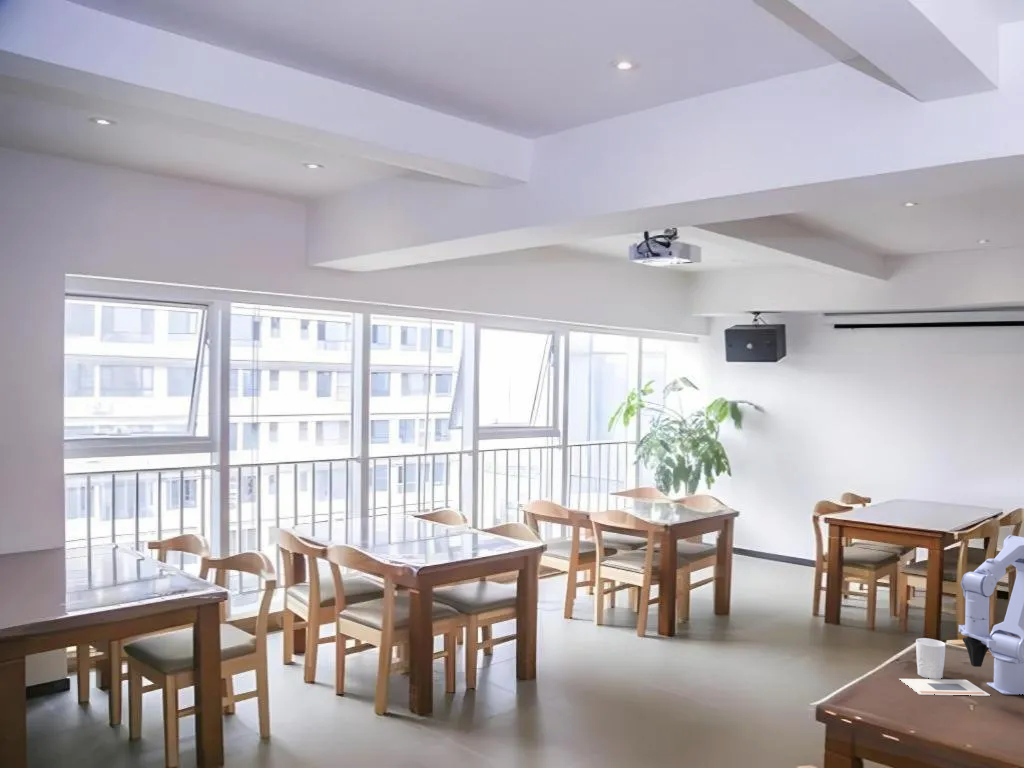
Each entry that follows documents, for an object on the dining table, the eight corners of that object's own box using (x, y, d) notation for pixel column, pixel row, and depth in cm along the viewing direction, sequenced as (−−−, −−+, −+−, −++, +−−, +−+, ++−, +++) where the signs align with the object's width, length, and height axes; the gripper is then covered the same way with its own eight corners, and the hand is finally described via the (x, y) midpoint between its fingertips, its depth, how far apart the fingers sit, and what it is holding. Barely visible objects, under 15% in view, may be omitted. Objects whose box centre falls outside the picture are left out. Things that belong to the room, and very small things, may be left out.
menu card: (966, 680, 237) (966, 679, 237) (990, 696, 225) (990, 695, 225) (898, 679, 237) (898, 678, 237) (919, 694, 225) (919, 694, 225)
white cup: (950, 680, 237) (950, 646, 237) (923, 680, 237) (923, 646, 237) (936, 671, 245) (937, 638, 245) (910, 670, 245) (911, 637, 245)
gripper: (948, 609, 230) (947, 656, 230) (978, 624, 215) (977, 674, 215) (973, 609, 230) (972, 657, 230) (1004, 624, 215) (1003, 675, 215)
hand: (976, 665), depth 222 cm, fingers closed
